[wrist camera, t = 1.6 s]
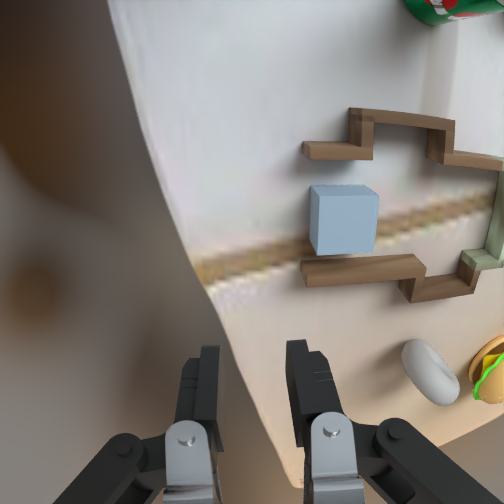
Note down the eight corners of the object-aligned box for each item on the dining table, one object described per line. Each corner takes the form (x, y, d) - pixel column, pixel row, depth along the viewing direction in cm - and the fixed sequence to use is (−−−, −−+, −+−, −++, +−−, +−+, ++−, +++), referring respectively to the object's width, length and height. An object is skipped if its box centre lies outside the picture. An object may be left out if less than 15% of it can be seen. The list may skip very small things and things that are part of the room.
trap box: (302, 105, 24) (310, 106, 21) (509, 132, 24) (527, 137, 21) (299, 296, 32) (304, 314, 29) (482, 277, 32) (495, 289, 29)
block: (310, 184, 27) (319, 196, 24) (364, 184, 27) (379, 195, 24) (308, 238, 29) (317, 255, 26) (359, 235, 29) (373, 252, 26)
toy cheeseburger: (471, 342, 37) (499, 381, 30) (522, 318, 37) (550, 350, 29) (454, 390, 43) (474, 427, 35) (503, 367, 42) (524, 398, 34)
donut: (441, 348, 37) (473, 400, 28) (423, 365, 38) (452, 418, 29) (405, 321, 34) (441, 381, 25) (385, 340, 35) (416, 403, 26)
